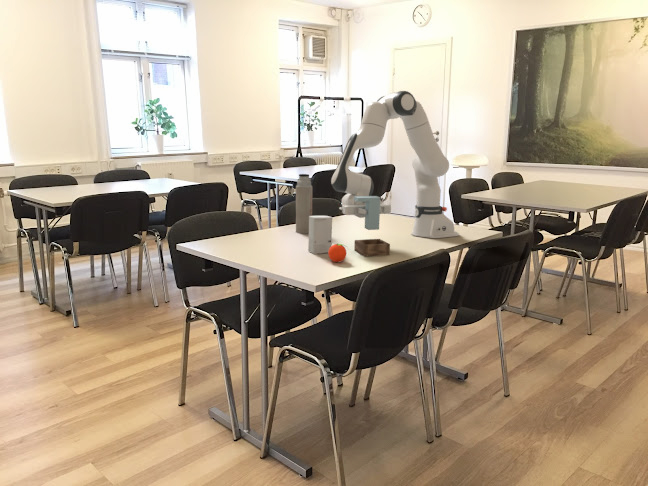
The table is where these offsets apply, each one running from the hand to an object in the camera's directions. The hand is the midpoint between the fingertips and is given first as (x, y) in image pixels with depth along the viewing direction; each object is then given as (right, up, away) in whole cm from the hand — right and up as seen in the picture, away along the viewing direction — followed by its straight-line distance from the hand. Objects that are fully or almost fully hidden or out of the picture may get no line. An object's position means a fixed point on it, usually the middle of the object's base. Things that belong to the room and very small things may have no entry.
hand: (373, 211), depth 216 cm
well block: (0, -17, +4) cm, 17 cm away
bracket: (-3, -7, +2) cm, 7 cm away
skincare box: (-21, -16, +5) cm, 27 cm away
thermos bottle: (-30, -7, +47) cm, 56 cm away
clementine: (-14, -20, -11) cm, 27 cm away
